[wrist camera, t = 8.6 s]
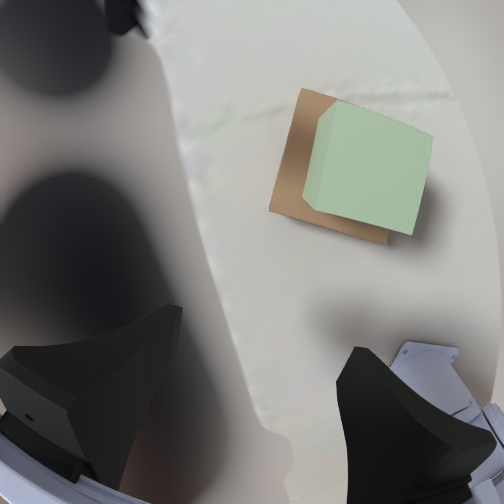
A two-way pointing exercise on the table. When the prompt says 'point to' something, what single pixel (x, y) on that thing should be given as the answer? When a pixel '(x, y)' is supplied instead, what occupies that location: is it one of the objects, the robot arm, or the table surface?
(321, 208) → the sage cube
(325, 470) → the table surface
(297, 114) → the walnut block
